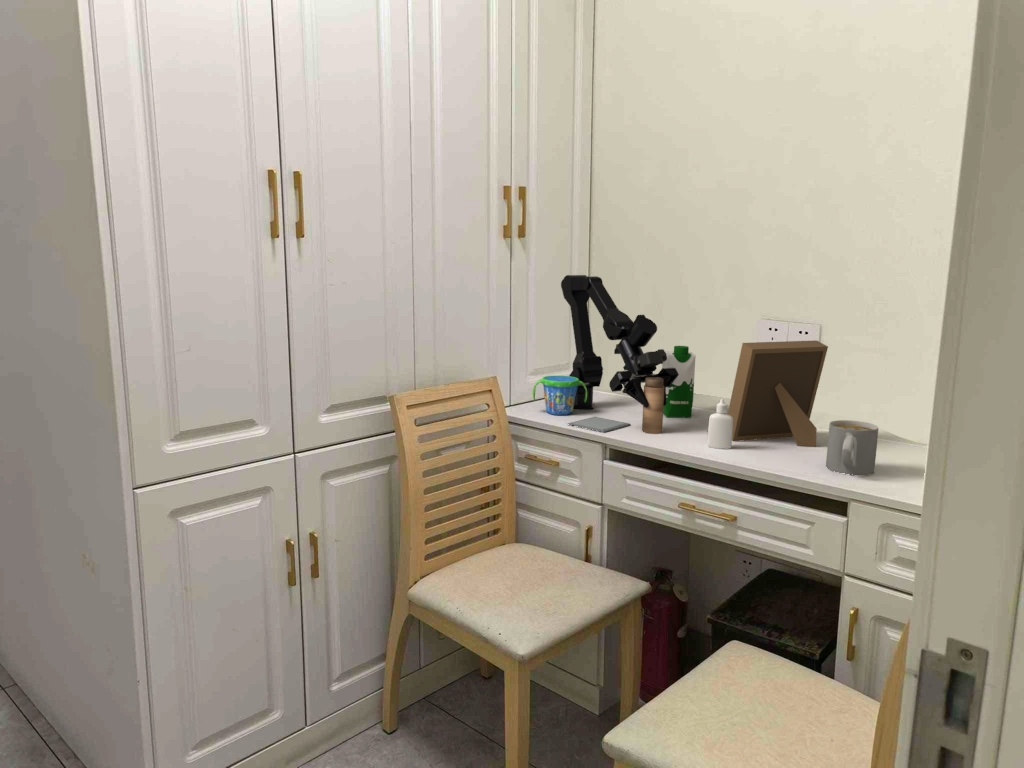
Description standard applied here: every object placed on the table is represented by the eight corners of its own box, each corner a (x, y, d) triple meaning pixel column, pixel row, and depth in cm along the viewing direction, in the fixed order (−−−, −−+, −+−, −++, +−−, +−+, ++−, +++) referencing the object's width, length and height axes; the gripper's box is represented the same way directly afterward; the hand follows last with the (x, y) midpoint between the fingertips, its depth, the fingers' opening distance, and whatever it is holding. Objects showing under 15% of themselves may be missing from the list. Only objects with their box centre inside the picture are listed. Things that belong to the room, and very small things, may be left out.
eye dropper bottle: (714, 443, 200) (717, 395, 198) (734, 448, 196) (737, 399, 194) (704, 446, 197) (707, 398, 195) (724, 451, 193) (727, 401, 191)
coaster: (567, 425, 217) (567, 422, 217) (594, 418, 226) (594, 416, 226) (603, 432, 209) (603, 430, 209) (630, 425, 218) (630, 423, 218)
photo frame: (723, 437, 206) (729, 340, 202) (794, 431, 213) (802, 337, 209) (758, 452, 193) (765, 347, 188) (833, 445, 199) (842, 345, 195)
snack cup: (586, 410, 236) (588, 375, 235) (586, 418, 226) (587, 382, 224) (533, 408, 238) (534, 374, 236) (530, 416, 228) (531, 380, 226)
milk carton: (664, 418, 227) (667, 347, 224) (657, 411, 236) (660, 343, 232) (695, 418, 227) (699, 347, 224) (687, 411, 236) (690, 343, 233)
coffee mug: (835, 460, 186) (839, 418, 184) (880, 469, 180) (884, 425, 178) (812, 472, 176) (816, 427, 174) (859, 482, 170) (864, 435, 168)
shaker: (641, 428, 214) (644, 376, 212) (661, 429, 214) (664, 377, 211) (641, 433, 209) (644, 380, 207) (662, 434, 209) (664, 380, 206)
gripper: (616, 340, 207) (640, 390, 199) (676, 337, 215) (700, 385, 207) (599, 366, 215) (621, 415, 207) (657, 362, 223) (680, 409, 215)
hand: (656, 405), depth 209 cm, fingers closed on shaker, 5 cm apart
